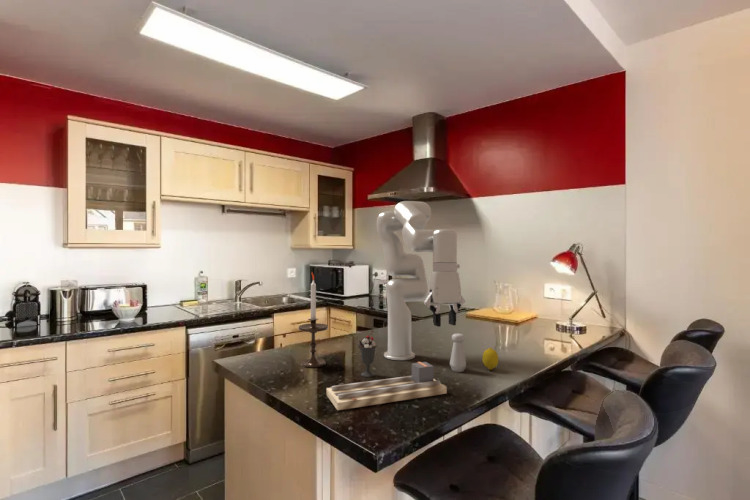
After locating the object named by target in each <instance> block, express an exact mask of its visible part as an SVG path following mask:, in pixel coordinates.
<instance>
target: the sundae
mask: <svg viewBox="0 0 750 500" xmlns="http://www.w3.org/2000/svg"><path fill="white" fill-rule="evenodd" d="M372 333H374V330H371V332H370V333H369V335H366V336H365V337H364V338H363V339H362V340H359V341H358V343H359V344H358V349H359V350H360V356H361V361H362V363H363V364H364V365H365V371H364V372H362V373H360V376H361V377H365V378H371V377H372V378H373V377H375V375H376V373H375V372H372V371H371V369H370V366H371V364H373V363H374V359H375V354H376V348H377V347H378V345H377V344H376V341H375V340H374V337H373V336H370V335H372Z"/></svg>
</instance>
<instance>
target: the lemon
mask: <svg viewBox="0 0 750 500" xmlns="http://www.w3.org/2000/svg"><path fill="white" fill-rule="evenodd" d="M498 354H499V353H497V351H496V350H495V349H493V348H492V347H489V348H487V349H485V350H484V352H483V353H482V358H481V359H482V364H483V366H484V368H485V367H486V368H487V369H488V370H489V371H491V370H493V369H494V368H496V367H497V366H498V365H499V355H498Z"/></svg>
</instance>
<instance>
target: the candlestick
mask: <svg viewBox="0 0 750 500" xmlns="http://www.w3.org/2000/svg"><path fill="white" fill-rule="evenodd" d="M311 276H312V277H311V278H312V282H311V283H310V318H308V319H307V320H308V321H310V323H305V324H300V325H299V326H298V331H300V332H306V333H309V334H311V339H310V340H311V342H310V343H309V346H310V350H309V352H310V354H311V357H310V358H308V359H304V360H302V361H301V362H300V366H303V368H306V369H307V368H308V369H315V368H321V367H324V366H325V365H326V360H325V359H322V358H317V357H316V353H317V350H316V348H317V345H318V343H317V342H316V333H318V332H323V331H327V330H328V329H329V328H328V327H329V326H328V324H325V323H317V320H319V318H317V316H316V315H317V314H316V313H317V305H316V304H317V285H316V283H315V275H314V273H313V271H311Z"/></svg>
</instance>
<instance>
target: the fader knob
mask: <svg viewBox="0 0 750 500" xmlns="http://www.w3.org/2000/svg"><path fill="white" fill-rule="evenodd" d="M434 374H435V373H434V365H432V364H430V363H428V362H427V361H417V362H413V363H411V376H412V380H413V381H414V382H416V383H421V382H428V381H434V379H435V377H434Z"/></svg>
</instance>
